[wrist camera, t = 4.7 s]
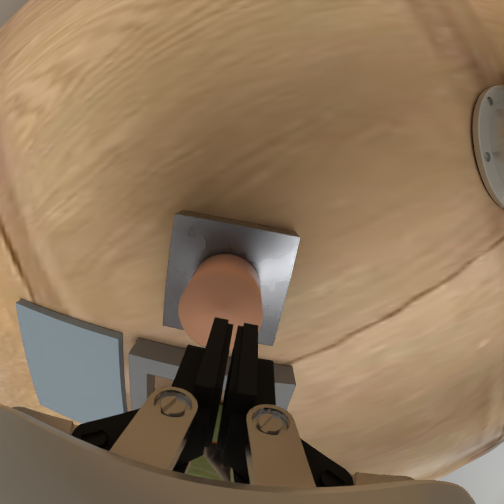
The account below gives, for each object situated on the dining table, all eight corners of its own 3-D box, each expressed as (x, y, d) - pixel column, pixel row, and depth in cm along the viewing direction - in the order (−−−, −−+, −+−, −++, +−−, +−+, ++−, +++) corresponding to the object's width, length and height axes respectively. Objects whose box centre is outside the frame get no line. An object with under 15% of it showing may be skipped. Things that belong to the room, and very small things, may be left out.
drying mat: (21, 299, 22) (15, 302, 21) (122, 333, 22) (118, 339, 21) (43, 399, 25) (40, 404, 24) (129, 433, 26) (127, 439, 25)
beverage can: (177, 430, 25) (153, 526, 14) (169, 379, 23) (131, 488, 12) (237, 436, 25) (234, 536, 14) (239, 385, 24) (235, 504, 12)
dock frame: (138, 337, 22) (128, 353, 20) (292, 366, 23) (296, 384, 21) (142, 437, 26) (136, 453, 23) (257, 458, 26) (258, 475, 24)
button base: (182, 210, 20) (174, 213, 18) (295, 231, 20) (300, 237, 18) (169, 313, 22) (162, 325, 20) (270, 332, 22) (272, 345, 20)
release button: (197, 247, 18) (183, 266, 14) (266, 261, 18) (271, 283, 14) (188, 310, 19) (175, 341, 15) (253, 323, 19) (253, 356, 15)
